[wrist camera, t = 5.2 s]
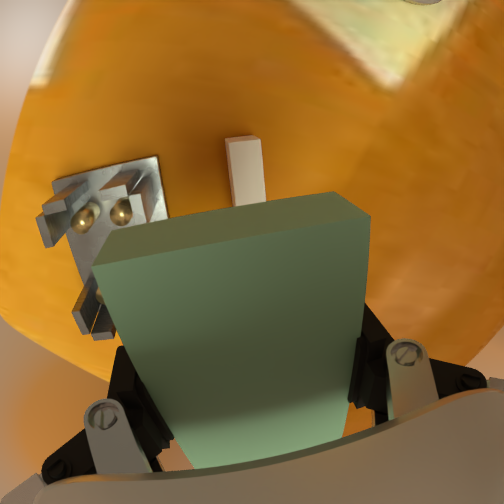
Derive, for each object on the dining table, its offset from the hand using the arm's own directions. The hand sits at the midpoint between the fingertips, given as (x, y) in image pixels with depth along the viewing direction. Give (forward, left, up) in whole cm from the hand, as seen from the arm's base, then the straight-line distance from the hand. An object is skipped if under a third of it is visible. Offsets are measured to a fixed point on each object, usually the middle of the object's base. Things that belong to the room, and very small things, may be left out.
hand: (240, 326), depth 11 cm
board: (0, 0, +1) cm, 1 cm away
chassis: (+3, -9, -18) cm, 20 cm away
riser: (-1, +3, -18) cm, 18 cm away
